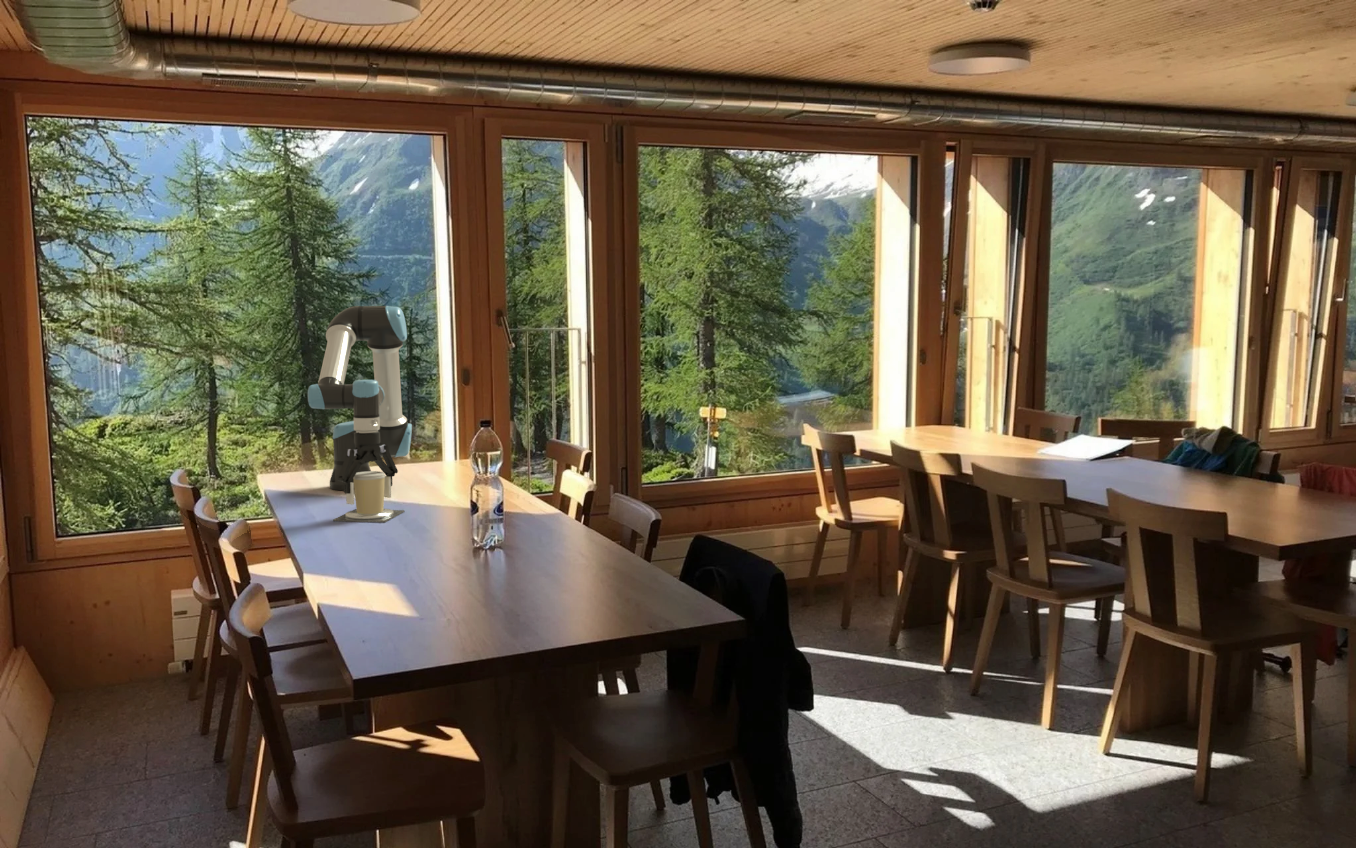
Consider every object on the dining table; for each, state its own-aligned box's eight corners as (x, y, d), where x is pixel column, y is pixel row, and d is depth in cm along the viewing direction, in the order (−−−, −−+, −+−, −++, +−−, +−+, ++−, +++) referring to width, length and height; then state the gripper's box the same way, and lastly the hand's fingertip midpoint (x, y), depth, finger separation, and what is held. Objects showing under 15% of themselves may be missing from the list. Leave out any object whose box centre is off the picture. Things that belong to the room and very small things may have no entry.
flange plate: (355, 510, 327) (355, 506, 327) (404, 511, 326) (404, 508, 326) (333, 521, 312) (333, 517, 311) (385, 522, 310) (384, 518, 310)
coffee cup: (373, 508, 325) (371, 470, 324) (392, 511, 320) (391, 473, 318) (347, 513, 318) (346, 474, 316) (367, 516, 312) (365, 477, 311)
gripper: (339, 436, 303) (341, 508, 306) (408, 428, 323) (410, 495, 326) (323, 434, 308) (326, 505, 310) (392, 426, 328) (394, 493, 330)
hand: (369, 500), depth 318 cm, fingers open, 13 cm apart
